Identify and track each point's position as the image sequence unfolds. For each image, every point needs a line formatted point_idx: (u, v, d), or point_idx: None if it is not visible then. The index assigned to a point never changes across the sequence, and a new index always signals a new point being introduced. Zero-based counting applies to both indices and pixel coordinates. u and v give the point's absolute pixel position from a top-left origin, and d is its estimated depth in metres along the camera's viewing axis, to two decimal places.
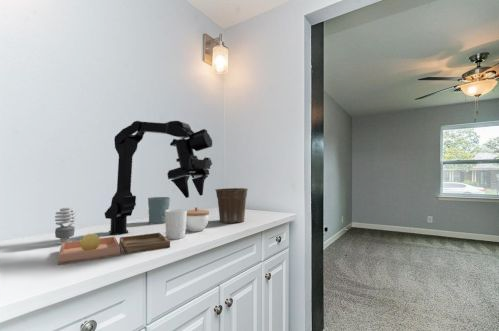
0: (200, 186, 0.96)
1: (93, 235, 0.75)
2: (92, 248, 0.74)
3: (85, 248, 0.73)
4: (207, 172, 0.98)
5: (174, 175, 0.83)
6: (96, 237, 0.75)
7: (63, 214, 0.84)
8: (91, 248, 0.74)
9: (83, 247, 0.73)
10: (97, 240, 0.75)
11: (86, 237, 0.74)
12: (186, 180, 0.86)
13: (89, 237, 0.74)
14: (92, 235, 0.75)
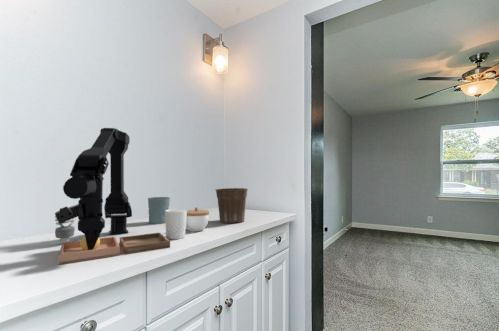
0: None
1: None
2: None
3: (85, 248, 0.73)
4: None
5: None
6: None
7: None
8: None
9: (83, 247, 0.73)
10: (97, 240, 0.75)
11: None
12: None
13: None
14: None
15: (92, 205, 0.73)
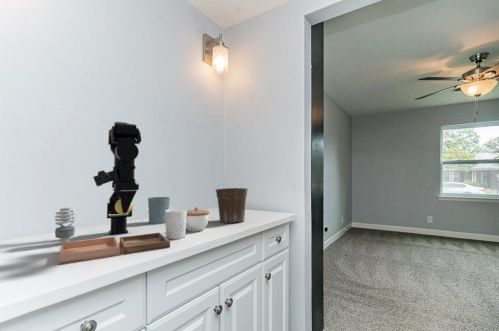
0: None
1: None
2: None
3: (119, 210, 0.78)
4: None
5: None
6: None
7: (63, 214, 0.84)
8: None
9: (118, 209, 0.78)
10: (130, 204, 0.80)
11: None
12: None
13: None
14: None
15: (126, 170, 0.78)
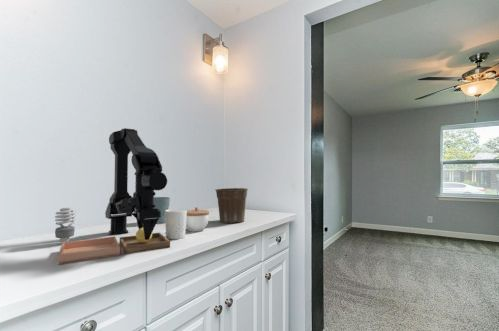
0: None
1: None
2: (146, 240, 0.82)
3: (141, 240, 0.81)
4: (138, 215, 0.76)
5: None
6: None
7: (63, 214, 0.84)
8: (146, 240, 0.82)
9: (139, 239, 0.81)
10: None
11: (141, 230, 0.82)
12: (135, 217, 0.87)
13: None
14: None
15: (147, 197, 0.82)
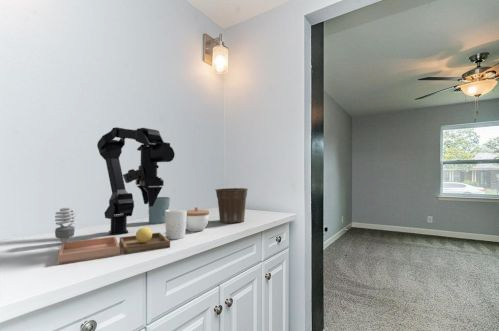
0: None
1: (147, 228, 0.83)
2: (146, 240, 0.82)
3: (141, 240, 0.81)
4: (143, 183, 0.85)
5: None
6: (149, 230, 0.83)
7: (63, 214, 0.84)
8: (146, 240, 0.82)
9: (139, 239, 0.81)
10: (150, 233, 0.83)
11: (141, 230, 0.82)
12: (140, 189, 0.97)
13: (144, 230, 0.82)
14: (146, 228, 0.83)
15: (151, 169, 0.91)
